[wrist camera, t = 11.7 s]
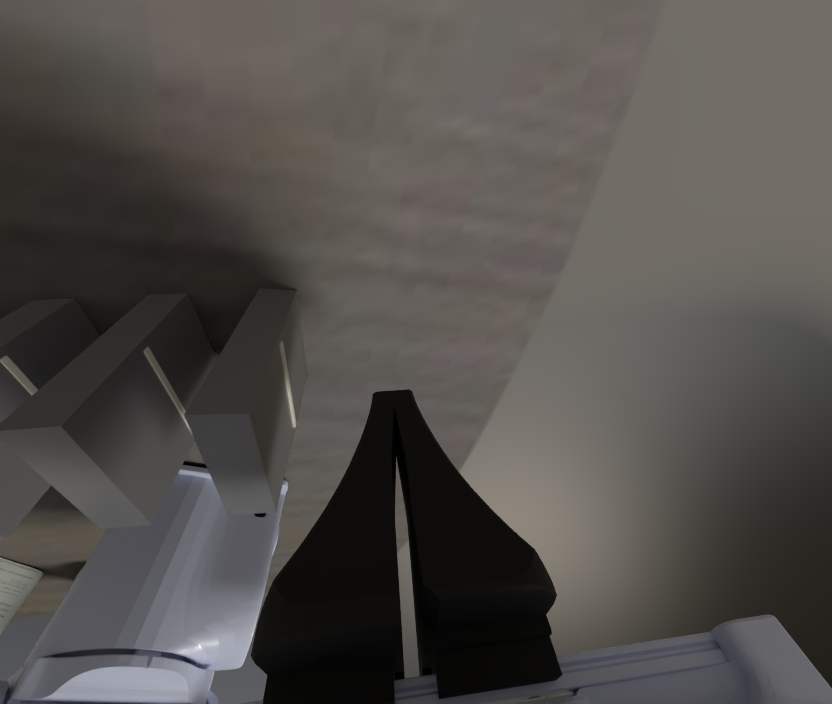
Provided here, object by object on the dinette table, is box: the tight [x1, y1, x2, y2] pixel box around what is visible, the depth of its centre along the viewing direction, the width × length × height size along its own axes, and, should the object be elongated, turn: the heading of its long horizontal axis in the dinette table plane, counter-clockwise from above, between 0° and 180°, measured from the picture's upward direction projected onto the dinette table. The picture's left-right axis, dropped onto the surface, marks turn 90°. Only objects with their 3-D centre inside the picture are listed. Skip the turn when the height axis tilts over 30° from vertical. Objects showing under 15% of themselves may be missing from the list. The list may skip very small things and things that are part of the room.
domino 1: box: [0, 298, 100, 540], centre depth 13 cm, size 2×5×8 cm, turn 0°
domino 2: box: [0, 293, 217, 530], centre depth 13 cm, size 2×5×8 cm, turn 0°
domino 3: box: [184, 288, 307, 515], centre depth 13 cm, size 2×5×8 cm, turn 174°
